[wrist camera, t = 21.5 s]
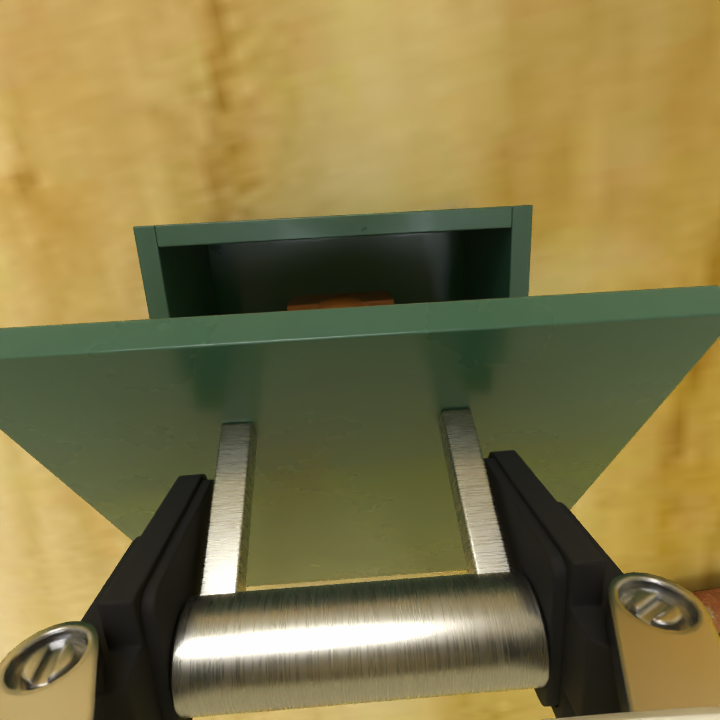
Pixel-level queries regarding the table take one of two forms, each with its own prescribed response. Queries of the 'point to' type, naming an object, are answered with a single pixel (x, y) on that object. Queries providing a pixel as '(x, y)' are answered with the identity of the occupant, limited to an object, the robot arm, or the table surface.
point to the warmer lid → (350, 472)
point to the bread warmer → (334, 259)
